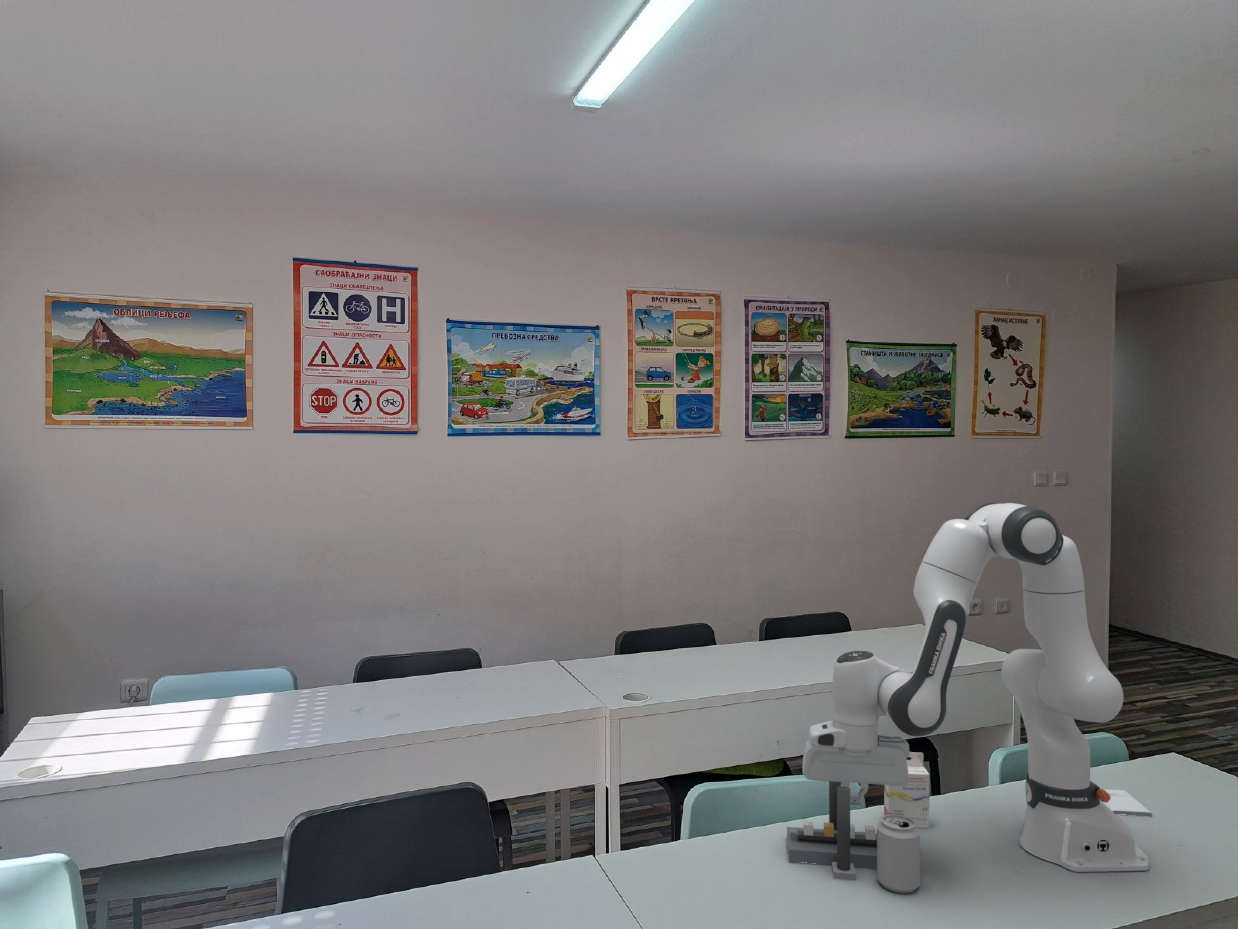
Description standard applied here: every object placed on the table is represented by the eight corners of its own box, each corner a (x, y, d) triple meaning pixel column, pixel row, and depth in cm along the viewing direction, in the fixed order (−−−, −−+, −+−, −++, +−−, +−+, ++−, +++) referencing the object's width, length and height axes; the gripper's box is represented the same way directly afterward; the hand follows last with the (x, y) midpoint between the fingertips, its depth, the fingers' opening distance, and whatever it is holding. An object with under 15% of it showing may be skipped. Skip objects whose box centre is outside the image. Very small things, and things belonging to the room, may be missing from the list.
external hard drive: (1112, 817, 182) (1088, 794, 194) (1152, 819, 180) (1125, 796, 193) (1112, 810, 182) (1088, 787, 194) (1152, 812, 180) (1125, 789, 193)
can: (914, 899, 146) (914, 832, 146) (872, 888, 150) (872, 823, 150) (923, 881, 153) (923, 817, 153) (882, 870, 157) (882, 808, 156)
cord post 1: (843, 832, 173) (843, 755, 173) (845, 841, 169) (845, 762, 169) (824, 831, 173) (824, 754, 173) (826, 839, 169) (826, 761, 169)
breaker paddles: (879, 840, 163) (879, 826, 163) (881, 844, 161) (881, 830, 161) (797, 834, 165) (797, 820, 165) (798, 838, 163) (798, 824, 163)
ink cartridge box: (888, 827, 175) (889, 758, 175) (883, 817, 180) (883, 750, 180) (930, 828, 175) (930, 760, 174) (923, 818, 179) (923, 751, 179)
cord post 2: (853, 869, 157) (853, 785, 157) (855, 880, 153) (855, 793, 153) (831, 868, 158) (831, 784, 158) (833, 878, 154) (833, 792, 154)
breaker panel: (886, 846, 167) (886, 826, 167) (895, 870, 157) (895, 849, 157) (786, 839, 170) (786, 819, 170) (789, 862, 160) (789, 841, 160)
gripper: (906, 732, 164) (905, 800, 164) (802, 726, 167) (801, 793, 167) (912, 742, 158) (912, 814, 158) (804, 736, 161) (803, 806, 161)
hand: (854, 803), depth 163 cm, fingers closed
